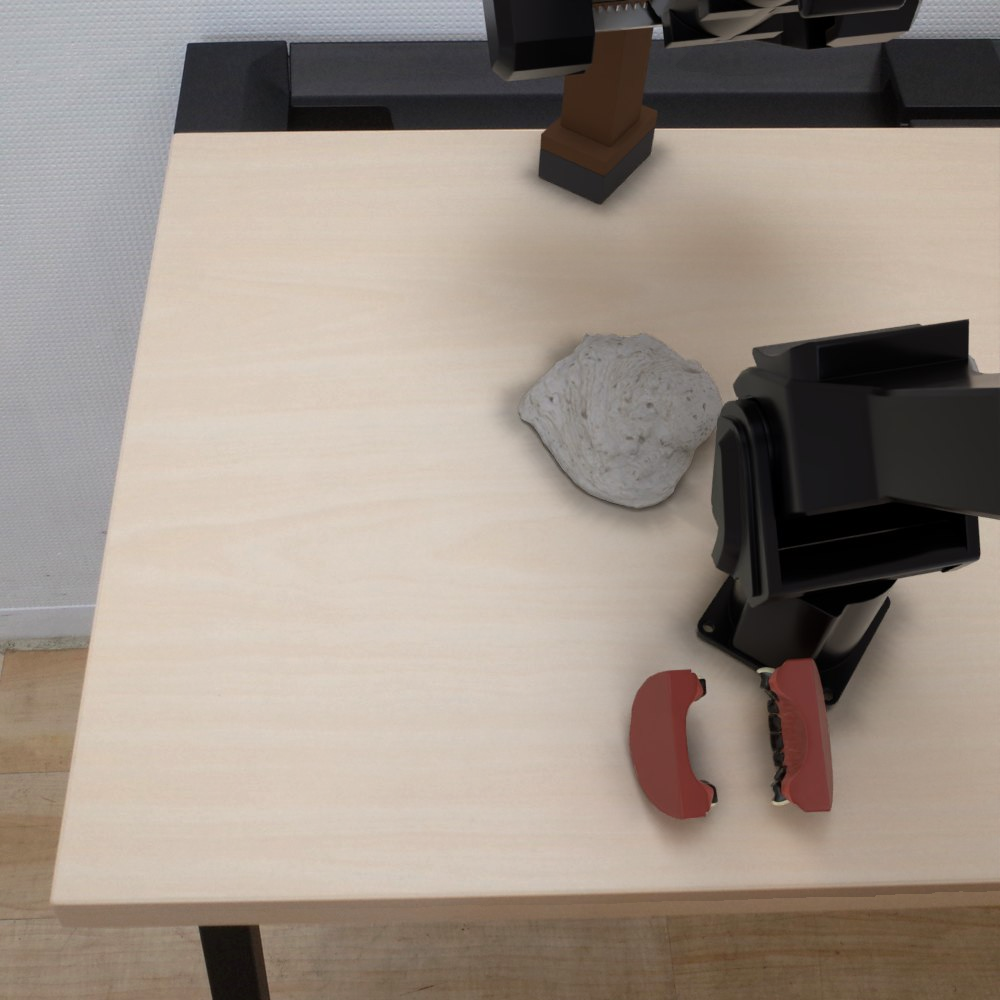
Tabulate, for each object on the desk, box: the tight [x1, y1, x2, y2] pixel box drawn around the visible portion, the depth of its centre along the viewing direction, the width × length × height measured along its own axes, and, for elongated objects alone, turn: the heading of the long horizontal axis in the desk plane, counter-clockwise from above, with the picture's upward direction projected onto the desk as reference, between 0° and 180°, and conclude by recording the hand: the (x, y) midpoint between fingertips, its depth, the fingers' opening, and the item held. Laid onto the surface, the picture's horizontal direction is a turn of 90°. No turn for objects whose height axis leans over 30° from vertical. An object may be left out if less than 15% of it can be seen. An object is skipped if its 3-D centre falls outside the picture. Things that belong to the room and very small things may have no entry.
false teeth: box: [628, 658, 834, 820], centre depth 42 cm, size 6×4×8 cm
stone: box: [517, 332, 723, 510], centre depth 53 cm, size 10×5×10 cm
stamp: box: [537, 0, 659, 205], centre depth 61 cm, size 6×4×13 cm
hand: (642, 32), depth 54 cm, fingers open, 9 cm apart
